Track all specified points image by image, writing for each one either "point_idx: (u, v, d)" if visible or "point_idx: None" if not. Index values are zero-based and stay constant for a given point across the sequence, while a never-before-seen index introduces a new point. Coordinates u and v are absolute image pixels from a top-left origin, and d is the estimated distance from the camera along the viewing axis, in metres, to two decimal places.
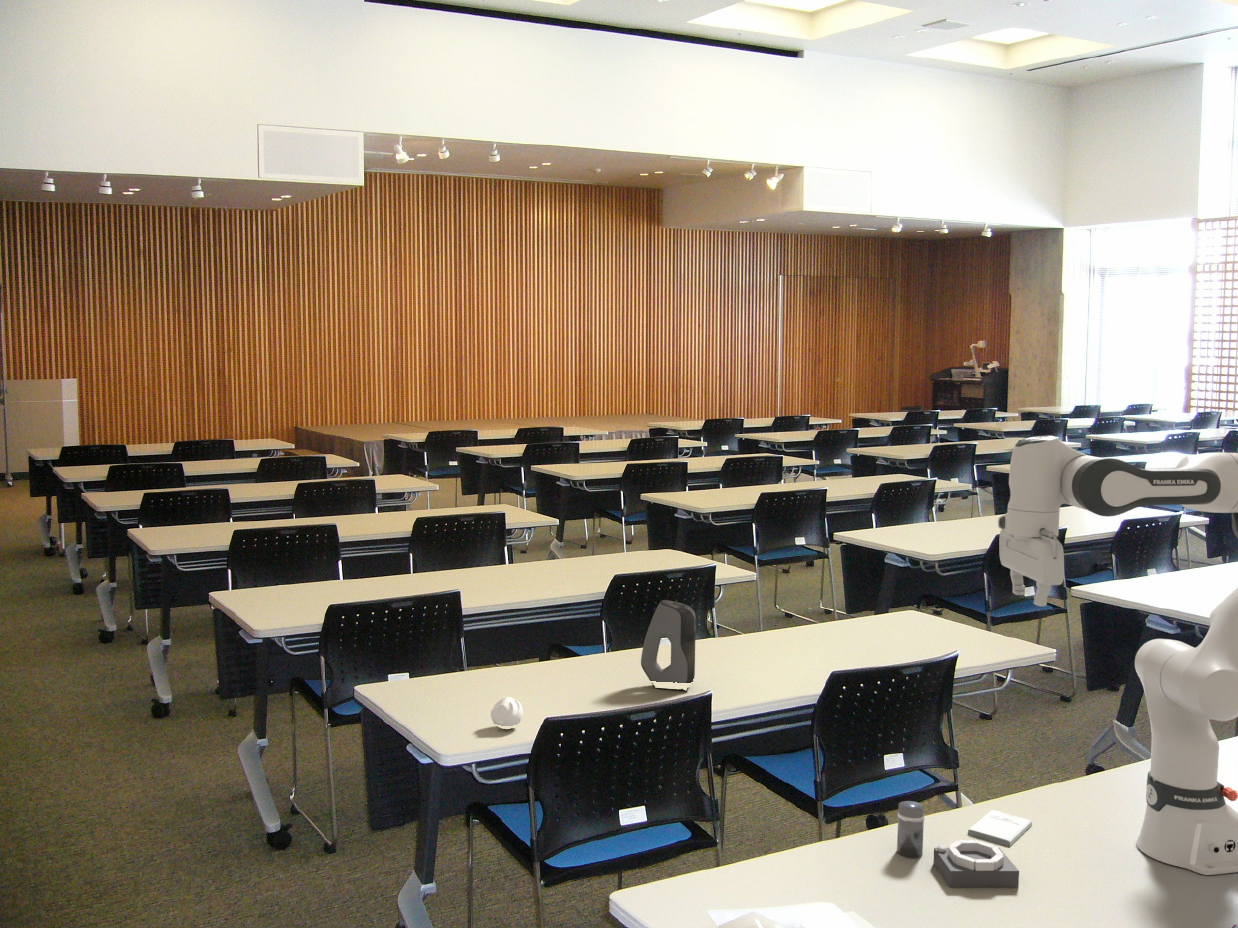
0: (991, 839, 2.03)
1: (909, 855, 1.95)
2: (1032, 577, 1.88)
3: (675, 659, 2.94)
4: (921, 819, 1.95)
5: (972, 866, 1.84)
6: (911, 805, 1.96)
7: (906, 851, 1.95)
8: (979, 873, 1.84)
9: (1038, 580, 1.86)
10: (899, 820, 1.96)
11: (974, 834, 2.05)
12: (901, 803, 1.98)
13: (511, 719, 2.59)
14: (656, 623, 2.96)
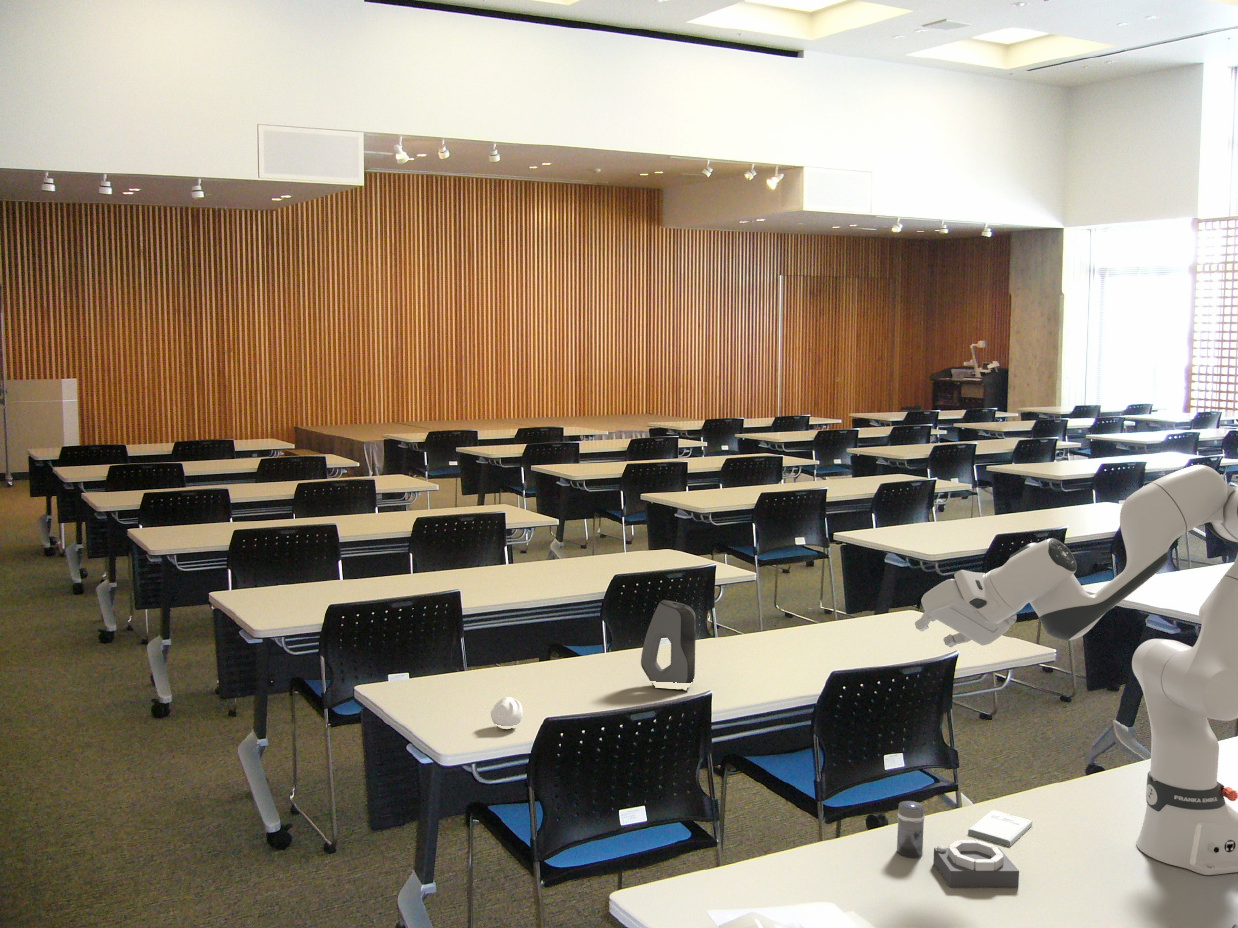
0: (991, 839, 2.03)
1: (909, 855, 1.95)
2: (971, 638, 2.04)
3: (675, 659, 2.94)
4: (921, 819, 1.95)
5: (972, 866, 1.84)
6: (911, 805, 1.96)
7: (906, 851, 1.95)
8: (979, 873, 1.84)
9: (978, 642, 2.05)
10: (899, 820, 1.96)
11: (974, 834, 2.05)
12: (901, 803, 1.98)
13: (511, 719, 2.59)
14: (656, 623, 2.96)
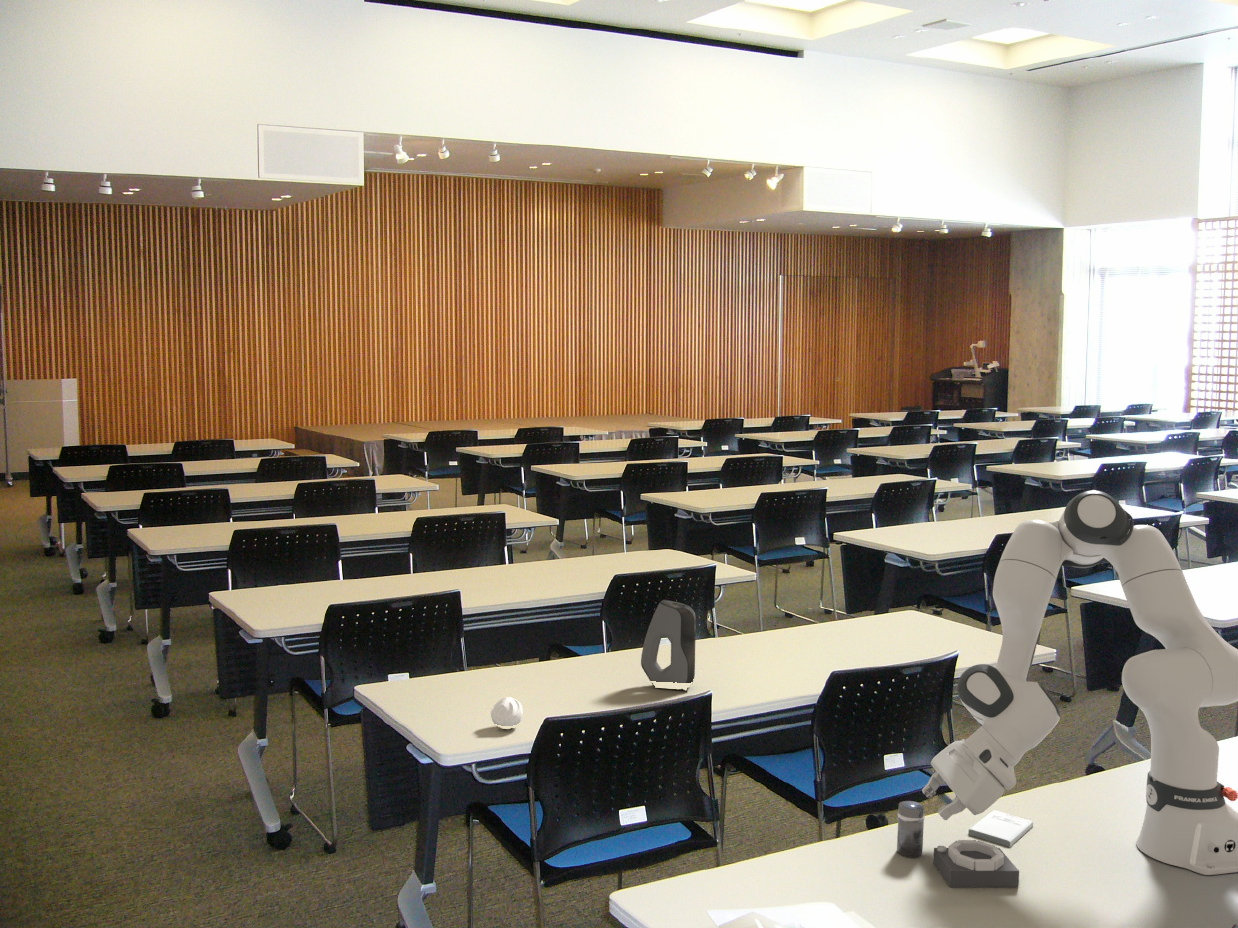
0: (991, 839, 2.03)
1: (909, 855, 1.95)
2: None
3: (675, 659, 2.94)
4: (921, 819, 1.95)
5: (972, 866, 1.84)
6: (911, 805, 1.96)
7: (906, 851, 1.95)
8: (979, 873, 1.84)
9: None
10: (899, 820, 1.96)
11: (974, 834, 2.05)
12: (901, 803, 1.98)
13: (511, 719, 2.59)
14: (656, 623, 2.96)
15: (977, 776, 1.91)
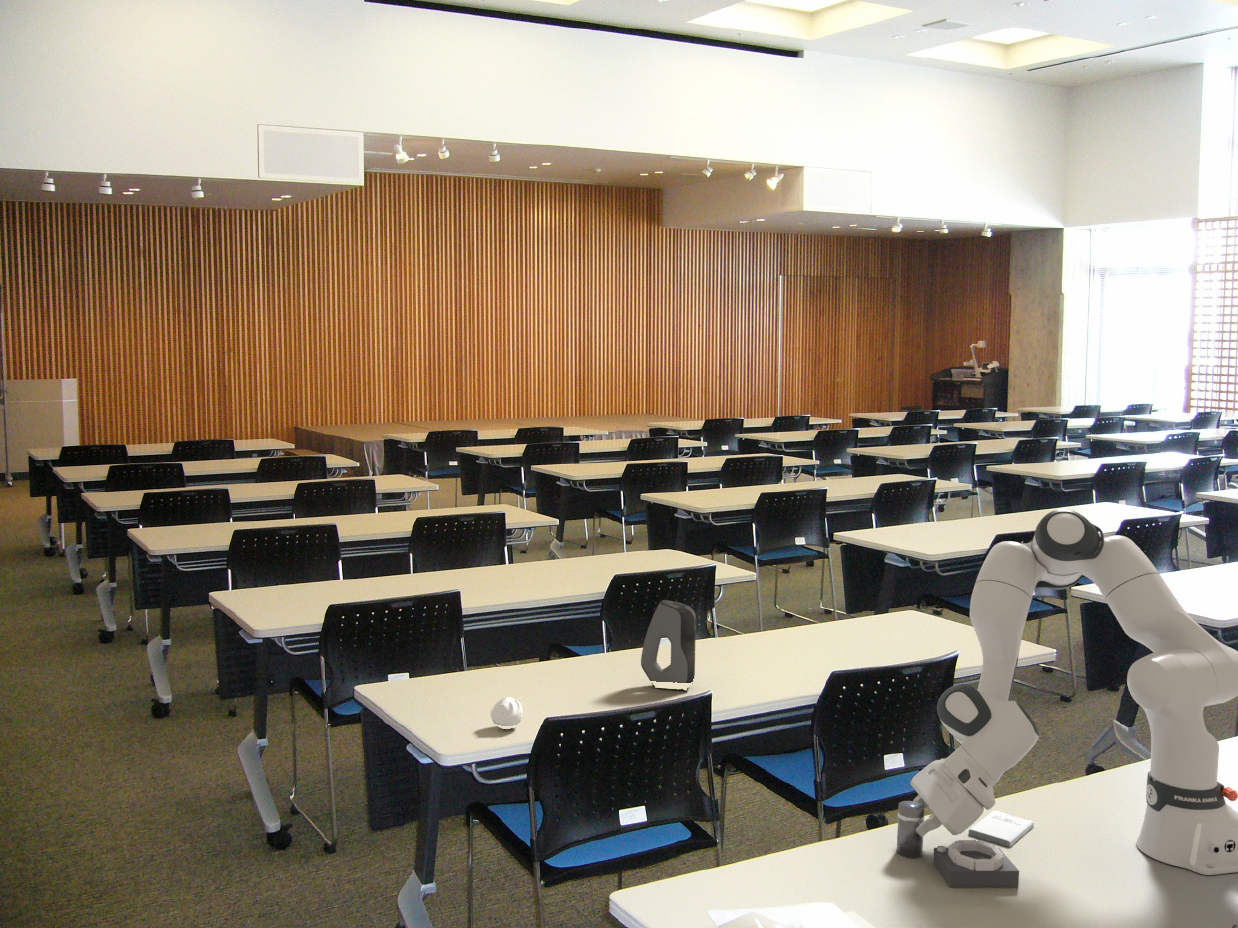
0: (991, 839, 2.02)
1: (909, 855, 1.95)
2: None
3: (675, 659, 2.94)
4: (921, 819, 1.95)
5: (972, 866, 1.84)
6: (911, 805, 1.96)
7: (906, 851, 1.95)
8: (979, 873, 1.84)
9: None
10: (899, 820, 1.96)
11: (974, 834, 2.05)
12: (901, 803, 1.98)
13: (511, 719, 2.59)
14: (656, 623, 2.96)
15: (956, 796, 1.90)
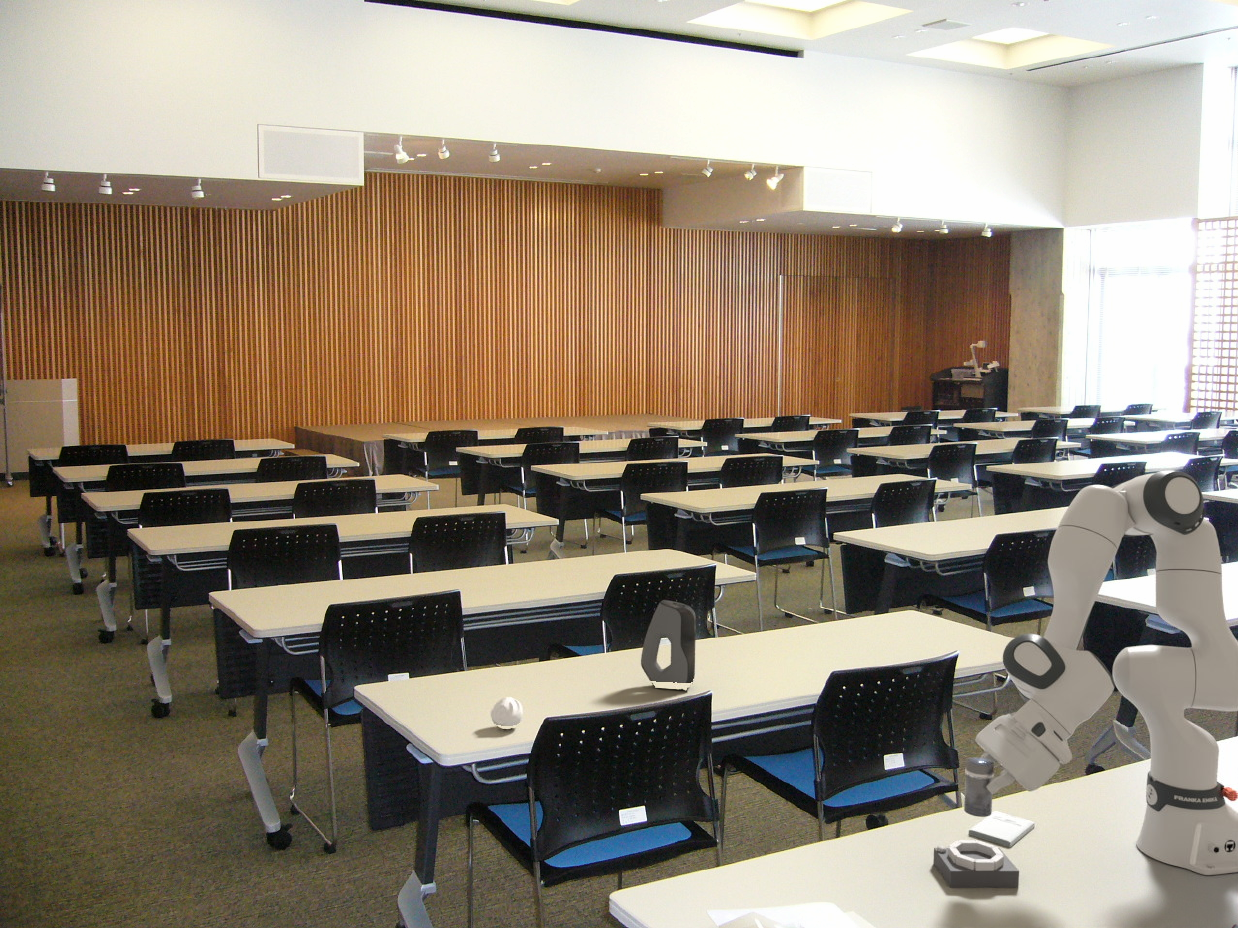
0: (991, 840, 2.02)
1: (978, 814, 1.85)
2: None
3: (675, 659, 2.94)
4: (991, 775, 1.85)
5: (972, 866, 1.84)
6: (980, 761, 1.86)
7: (975, 809, 1.85)
8: (979, 873, 1.84)
9: None
10: (967, 777, 1.86)
11: (975, 834, 2.05)
12: (968, 759, 1.88)
13: (511, 719, 2.59)
14: (656, 623, 2.96)
15: (1030, 751, 1.81)
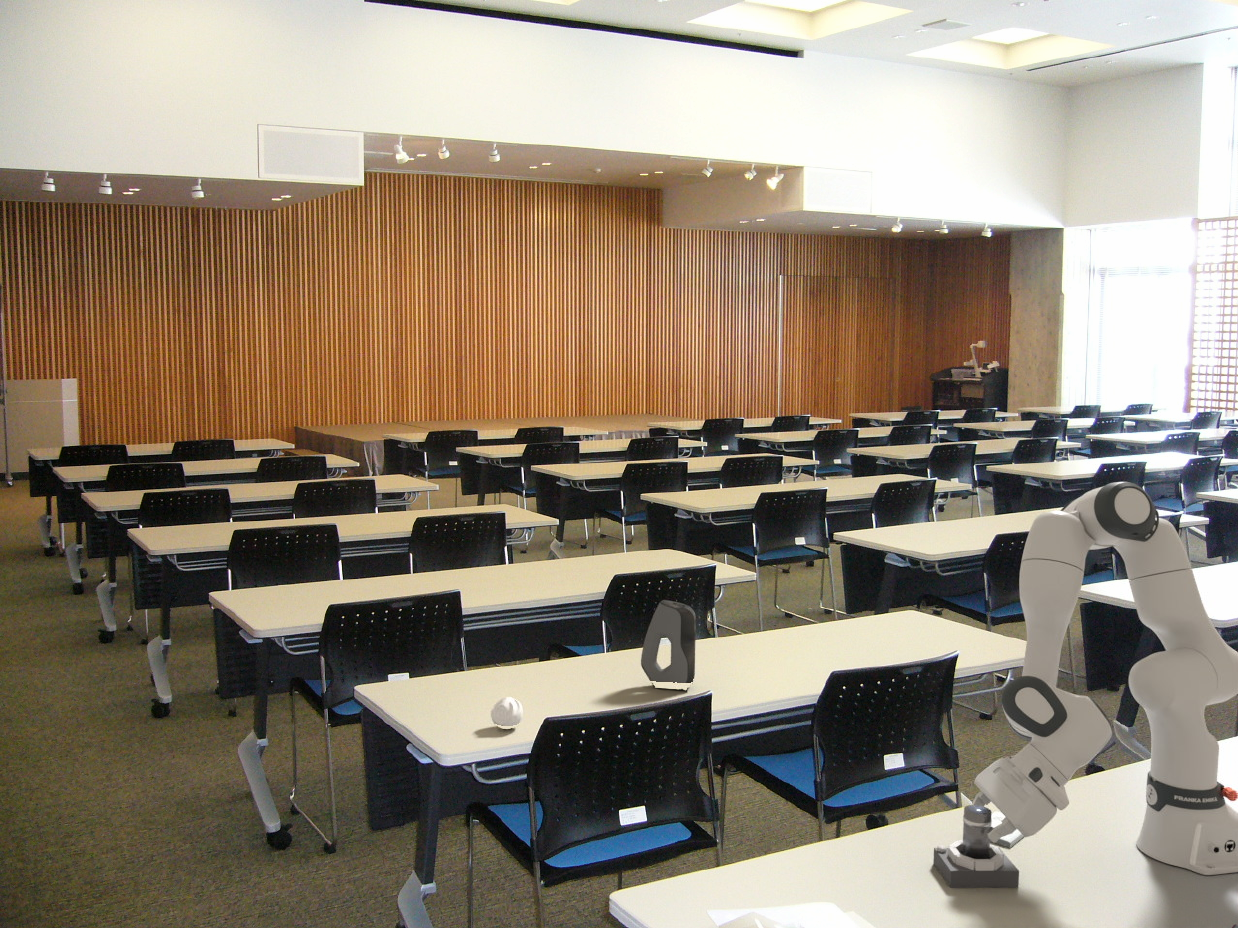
0: None
1: None
2: None
3: (675, 659, 2.94)
4: (988, 824, 1.86)
5: (972, 866, 1.84)
6: (977, 809, 1.87)
7: (973, 858, 1.86)
8: (979, 873, 1.84)
9: None
10: (965, 825, 1.87)
11: None
12: (967, 807, 1.89)
13: (511, 719, 2.59)
14: (656, 623, 2.96)
15: (1027, 796, 1.81)
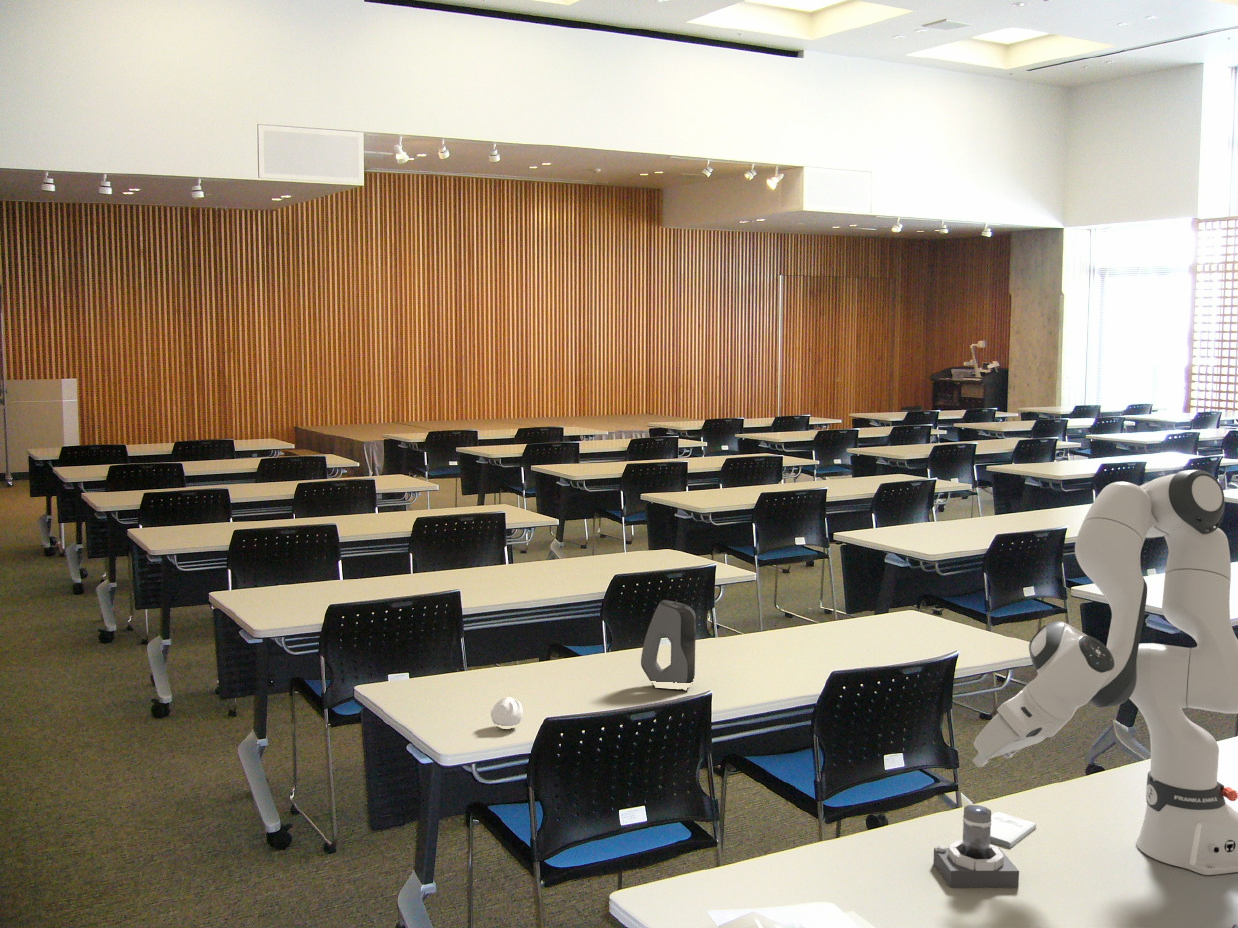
0: (992, 840, 2.02)
1: None
2: (1029, 745, 1.93)
3: (675, 659, 2.94)
4: (988, 824, 1.86)
5: (972, 866, 1.84)
6: (977, 809, 1.87)
7: (973, 858, 1.86)
8: (979, 873, 1.84)
9: None
10: (965, 825, 1.87)
11: None
12: (966, 807, 1.89)
13: (511, 719, 2.59)
14: (656, 623, 2.96)
15: None
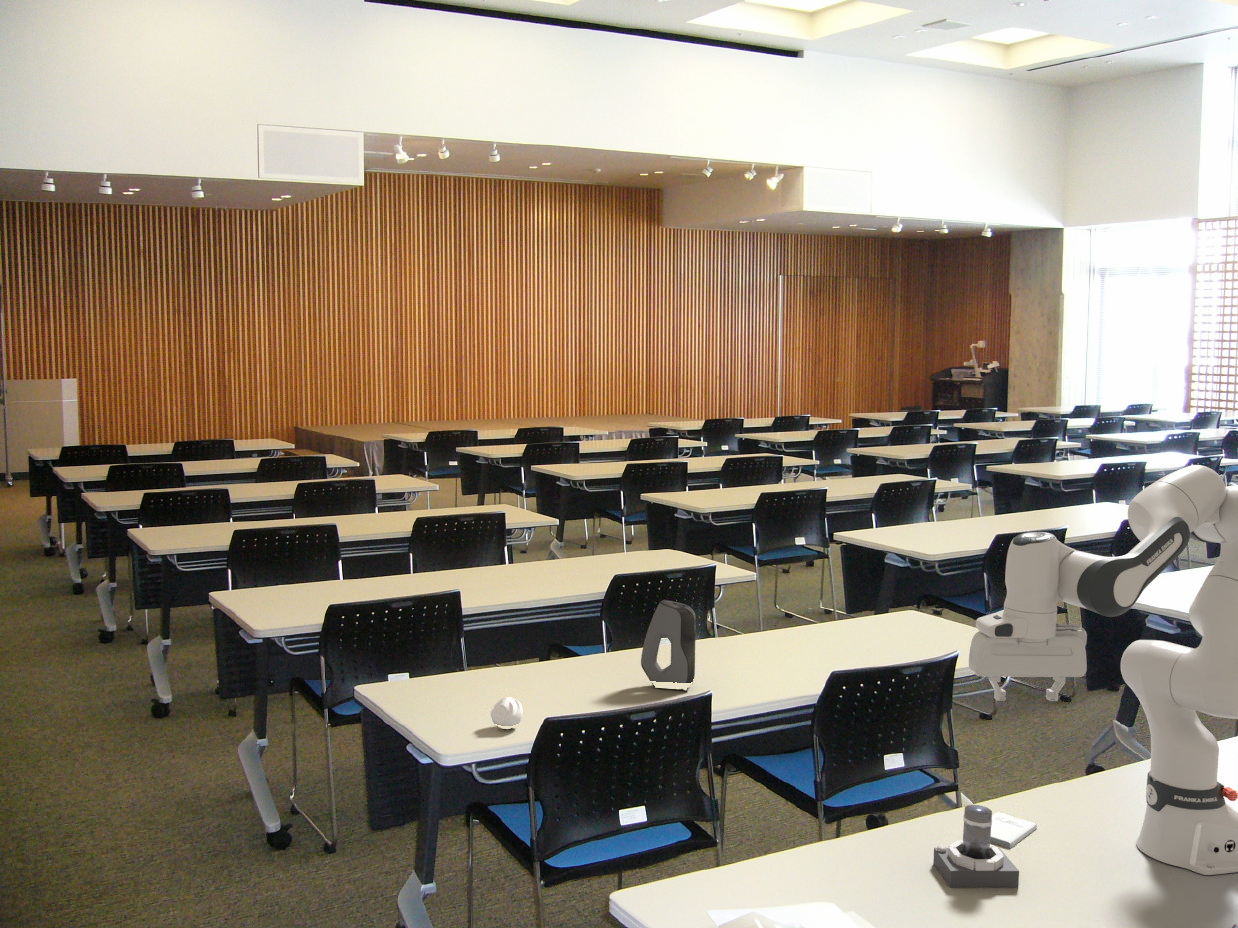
0: (992, 840, 2.02)
1: None
2: (1059, 674, 1.87)
3: (675, 659, 2.94)
4: (989, 824, 1.86)
5: (972, 866, 1.84)
6: (978, 809, 1.87)
7: (973, 857, 1.86)
8: (979, 873, 1.84)
9: (1073, 675, 1.87)
10: (965, 825, 1.87)
11: None
12: (967, 807, 1.89)
13: (511, 719, 2.59)
14: (656, 623, 2.96)
15: None
